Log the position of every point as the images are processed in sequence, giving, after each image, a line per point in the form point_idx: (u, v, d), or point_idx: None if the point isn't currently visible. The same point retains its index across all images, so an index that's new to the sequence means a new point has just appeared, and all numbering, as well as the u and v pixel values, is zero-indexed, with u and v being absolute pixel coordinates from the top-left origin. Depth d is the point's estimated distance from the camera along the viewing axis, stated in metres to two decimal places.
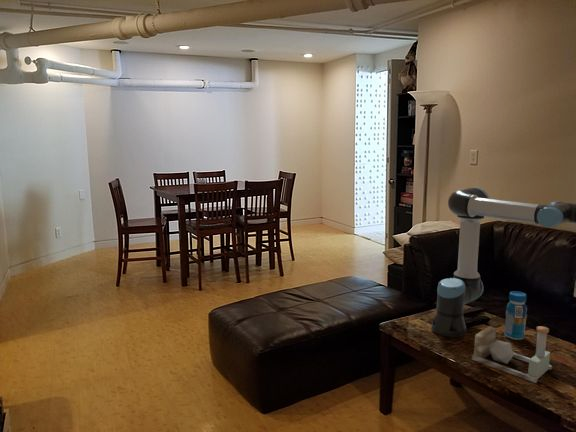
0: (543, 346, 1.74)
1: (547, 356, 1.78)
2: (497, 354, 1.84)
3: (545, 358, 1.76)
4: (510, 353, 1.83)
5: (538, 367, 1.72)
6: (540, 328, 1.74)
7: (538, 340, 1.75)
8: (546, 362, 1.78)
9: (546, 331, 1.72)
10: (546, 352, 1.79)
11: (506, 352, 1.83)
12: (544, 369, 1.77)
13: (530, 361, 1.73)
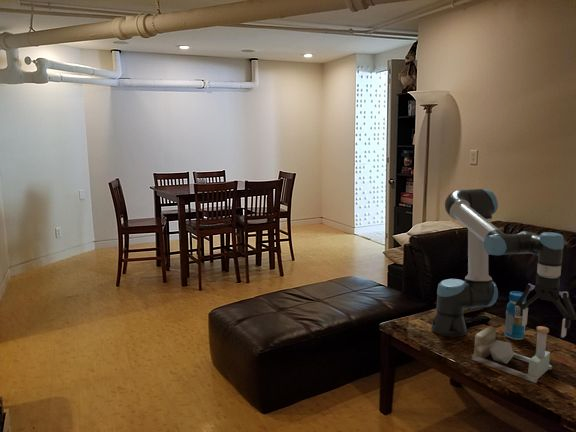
0: (543, 346, 1.74)
1: (547, 356, 1.78)
2: (497, 354, 1.84)
3: (545, 358, 1.76)
4: (510, 353, 1.83)
5: (538, 367, 1.72)
6: (540, 328, 1.74)
7: (538, 340, 1.75)
8: (546, 362, 1.78)
9: (546, 331, 1.72)
10: (546, 352, 1.79)
11: (506, 352, 1.83)
12: (544, 369, 1.77)
13: (530, 361, 1.73)
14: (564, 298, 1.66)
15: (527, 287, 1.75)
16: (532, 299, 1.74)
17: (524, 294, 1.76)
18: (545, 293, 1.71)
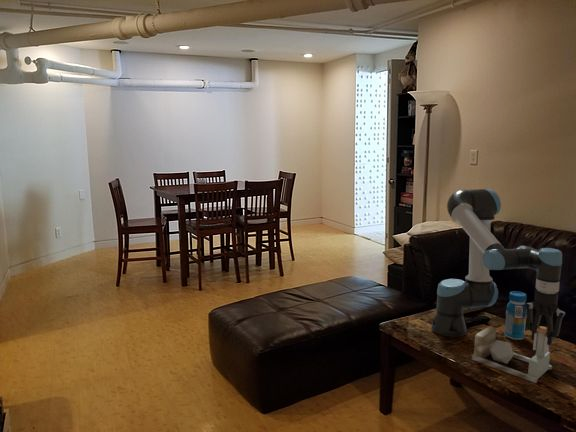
0: (543, 346, 1.74)
1: (547, 356, 1.78)
2: (497, 354, 1.84)
3: (545, 358, 1.76)
4: (510, 353, 1.83)
5: (538, 367, 1.72)
6: (540, 328, 1.74)
7: (538, 340, 1.75)
8: (546, 362, 1.78)
9: (546, 331, 1.72)
10: None
11: (506, 352, 1.83)
12: (544, 369, 1.77)
13: (530, 361, 1.73)
14: (558, 317, 1.69)
15: (526, 306, 1.76)
16: (537, 318, 1.74)
17: (528, 314, 1.76)
18: (543, 308, 1.72)
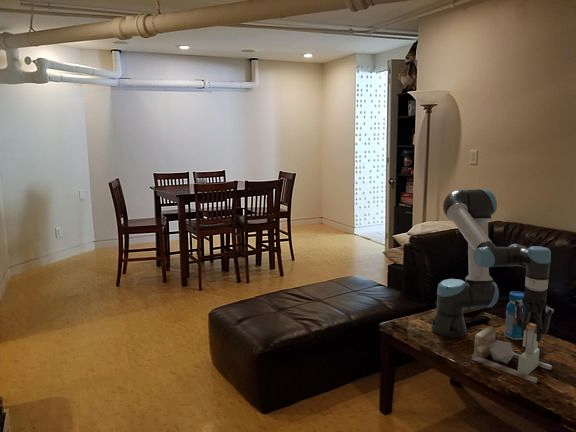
0: (532, 343, 1.77)
1: (537, 353, 1.80)
2: (497, 354, 1.84)
3: (535, 354, 1.79)
4: (510, 353, 1.83)
5: (527, 363, 1.75)
6: (529, 325, 1.77)
7: (528, 337, 1.77)
8: (536, 359, 1.81)
9: (535, 328, 1.75)
10: (536, 349, 1.82)
11: (506, 352, 1.83)
12: (533, 365, 1.80)
13: (520, 357, 1.76)
14: (547, 314, 1.71)
15: (516, 304, 1.79)
16: (526, 315, 1.77)
17: (518, 312, 1.79)
18: (532, 305, 1.75)
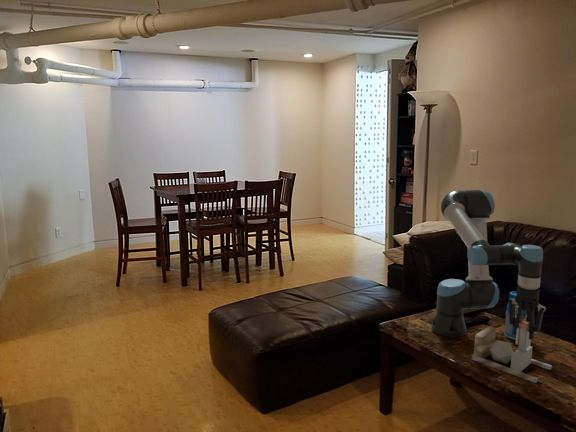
0: (525, 340, 1.79)
1: (529, 350, 1.82)
2: (497, 354, 1.84)
3: (528, 352, 1.81)
4: (510, 353, 1.83)
5: (520, 360, 1.77)
6: (522, 323, 1.79)
7: (520, 335, 1.79)
8: (528, 356, 1.83)
9: (528, 326, 1.77)
10: None
11: (506, 352, 1.83)
12: (526, 363, 1.82)
13: (512, 355, 1.78)
14: (539, 312, 1.73)
15: (509, 302, 1.81)
16: (519, 313, 1.79)
17: (511, 310, 1.81)
18: (525, 303, 1.77)
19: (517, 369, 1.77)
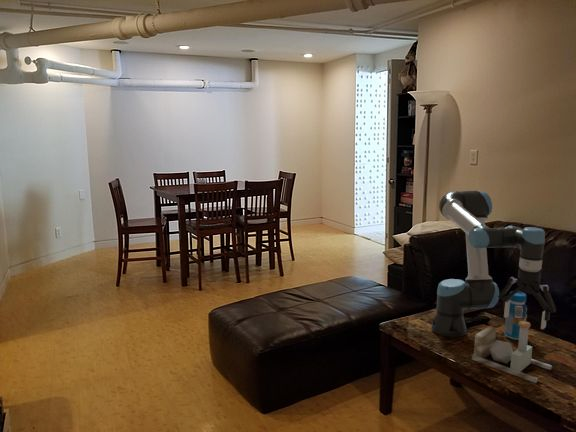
0: (525, 340, 1.79)
1: (529, 350, 1.82)
2: (497, 354, 1.84)
3: (527, 352, 1.81)
4: (510, 353, 1.83)
5: (520, 360, 1.77)
6: (522, 323, 1.79)
7: (520, 334, 1.79)
8: (528, 356, 1.83)
9: (528, 326, 1.77)
10: (528, 346, 1.84)
11: (506, 352, 1.83)
12: (526, 363, 1.82)
13: (512, 355, 1.78)
14: (544, 291, 1.71)
15: (509, 280, 1.80)
16: (514, 292, 1.79)
17: (506, 287, 1.81)
18: (526, 286, 1.76)
19: (517, 369, 1.77)
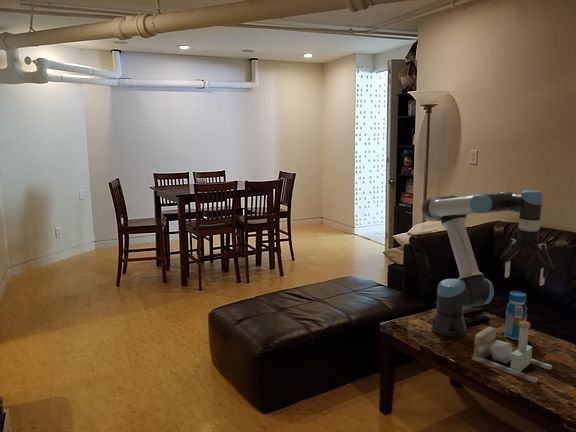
0: (525, 340, 1.79)
1: (529, 350, 1.82)
2: (497, 354, 1.84)
3: (527, 352, 1.81)
4: (510, 353, 1.83)
5: (520, 360, 1.77)
6: (522, 323, 1.79)
7: (520, 334, 1.79)
8: (528, 356, 1.83)
9: (528, 326, 1.77)
10: (528, 346, 1.84)
11: (506, 352, 1.83)
12: (526, 363, 1.82)
13: (512, 355, 1.78)
14: (542, 249, 1.82)
15: (509, 241, 1.91)
16: (514, 252, 1.90)
17: (507, 248, 1.92)
18: (525, 246, 1.87)
19: (517, 369, 1.77)
